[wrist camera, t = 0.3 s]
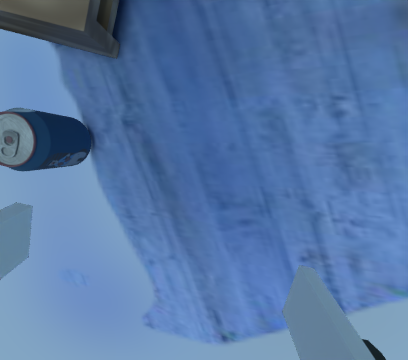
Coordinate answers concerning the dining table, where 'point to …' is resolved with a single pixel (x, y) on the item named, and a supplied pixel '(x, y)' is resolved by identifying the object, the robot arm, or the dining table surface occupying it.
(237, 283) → the dining table surface
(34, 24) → the shelf
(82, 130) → the soda can
